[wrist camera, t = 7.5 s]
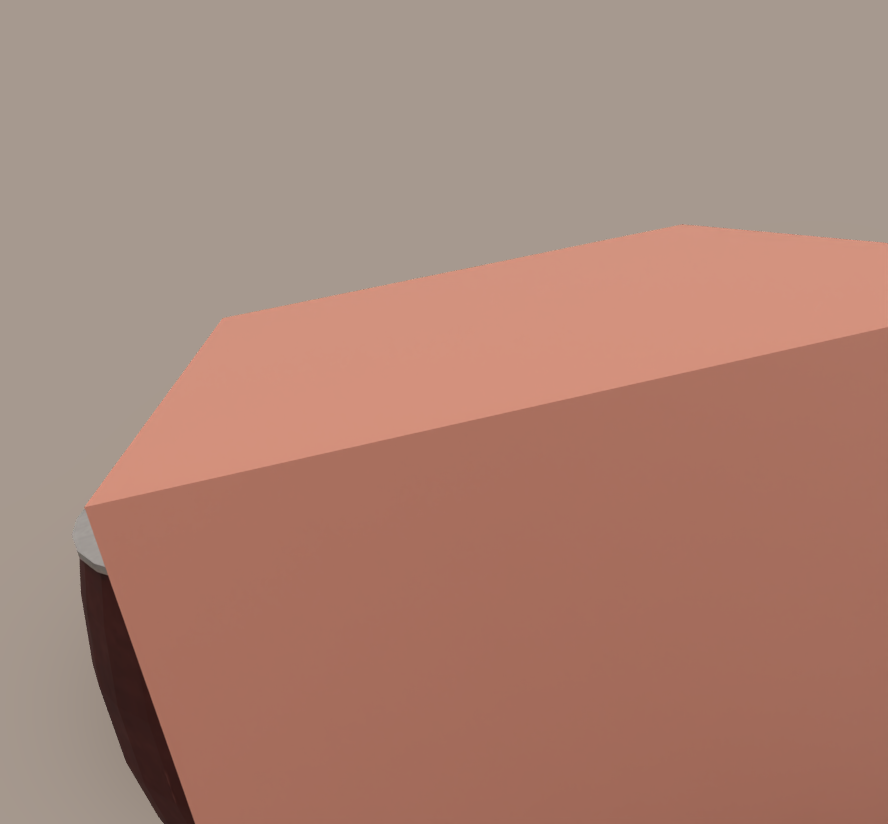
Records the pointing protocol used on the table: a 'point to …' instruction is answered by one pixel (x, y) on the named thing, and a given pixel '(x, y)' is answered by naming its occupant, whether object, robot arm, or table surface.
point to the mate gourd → (126, 685)
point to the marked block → (527, 543)
